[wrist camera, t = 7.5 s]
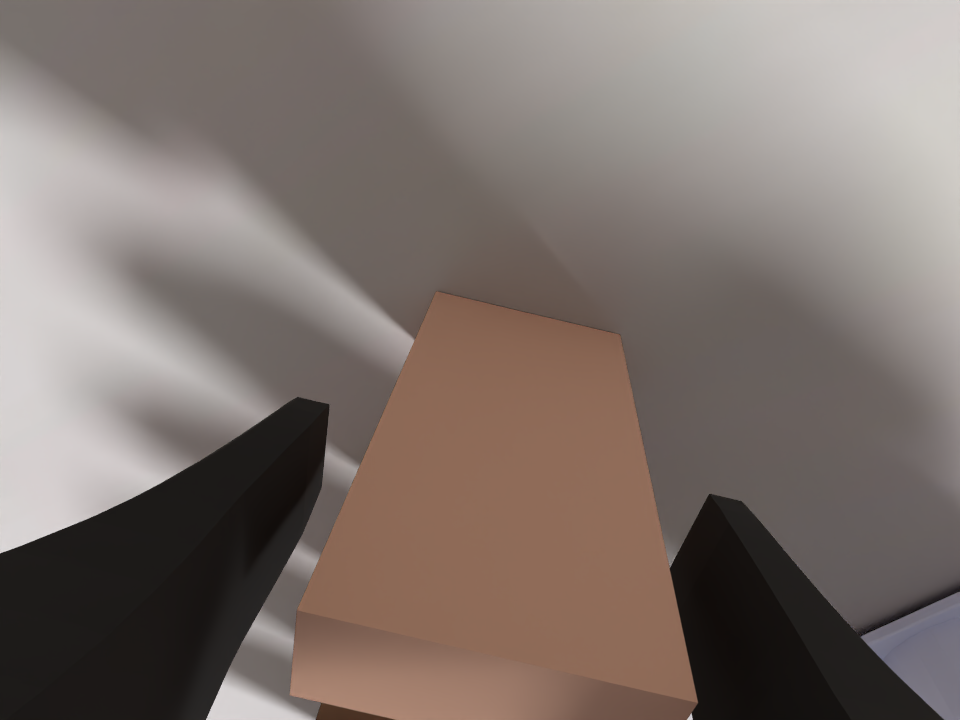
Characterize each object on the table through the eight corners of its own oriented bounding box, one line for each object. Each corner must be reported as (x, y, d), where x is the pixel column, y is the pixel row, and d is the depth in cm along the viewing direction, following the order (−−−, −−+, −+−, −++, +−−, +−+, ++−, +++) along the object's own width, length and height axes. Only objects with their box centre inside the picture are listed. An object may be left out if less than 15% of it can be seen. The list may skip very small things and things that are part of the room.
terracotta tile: (599, 390, 17) (647, 777, 8) (425, 349, 17) (289, 695, 8) (620, 334, 16) (697, 702, 7) (436, 291, 16) (297, 609, 7)
